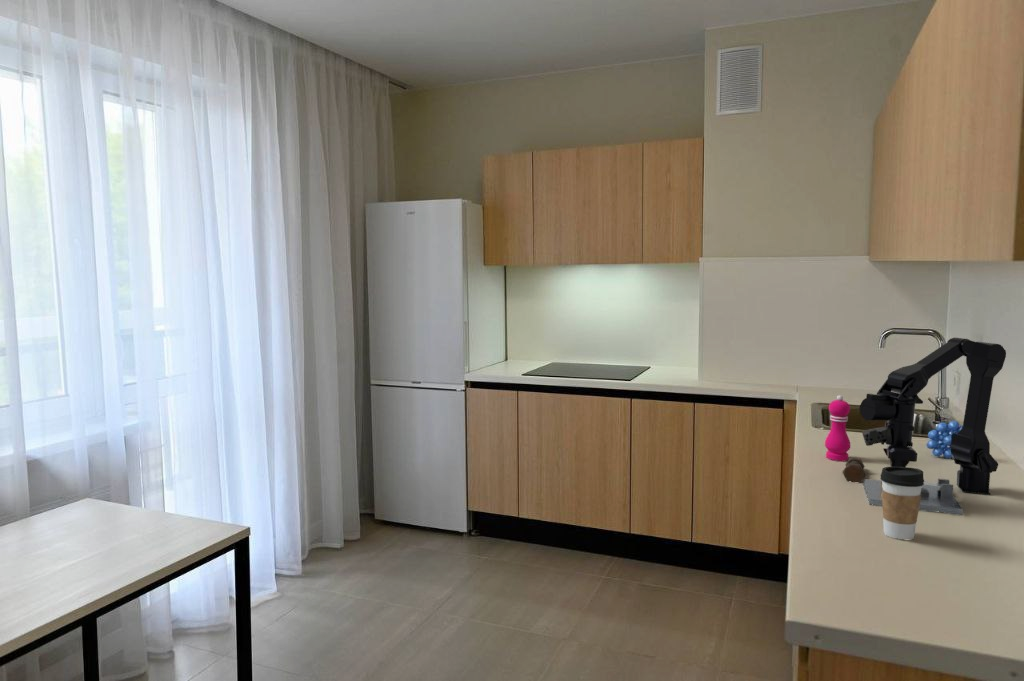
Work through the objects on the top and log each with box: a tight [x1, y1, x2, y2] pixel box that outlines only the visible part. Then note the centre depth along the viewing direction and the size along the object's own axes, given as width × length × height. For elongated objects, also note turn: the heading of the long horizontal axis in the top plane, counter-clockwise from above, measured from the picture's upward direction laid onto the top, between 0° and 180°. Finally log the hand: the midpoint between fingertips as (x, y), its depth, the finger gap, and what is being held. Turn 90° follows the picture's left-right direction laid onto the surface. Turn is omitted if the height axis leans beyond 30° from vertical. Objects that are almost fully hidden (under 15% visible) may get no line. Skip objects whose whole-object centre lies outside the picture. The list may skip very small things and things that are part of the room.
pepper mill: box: [824, 394, 851, 462], centre depth 216 cm, size 7×7×20 cm
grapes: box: [925, 420, 963, 459], centre depth 218 cm, size 12×7×12 cm, turn 66°
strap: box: [921, 480, 942, 491], centre depth 179 cm, size 14×3×1 cm, turn 68°
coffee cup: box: [879, 466, 925, 540], centre depth 154 cm, size 8×8×15 cm
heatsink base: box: [862, 478, 964, 516], centre depth 179 cm, size 20×18×5 cm
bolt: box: [842, 457, 866, 483], centre depth 200 cm, size 6×5×15 cm
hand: (894, 479), depth 181 cm, fingers closed, pressing on strap
